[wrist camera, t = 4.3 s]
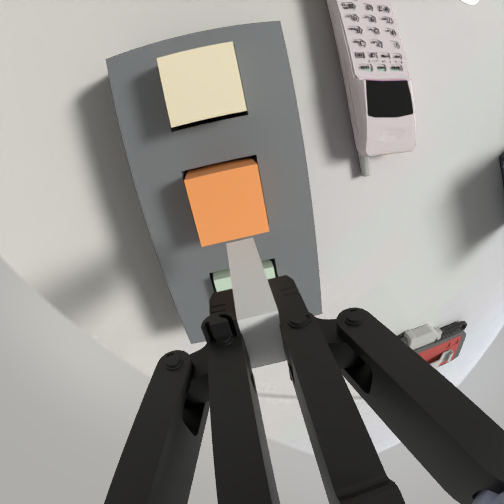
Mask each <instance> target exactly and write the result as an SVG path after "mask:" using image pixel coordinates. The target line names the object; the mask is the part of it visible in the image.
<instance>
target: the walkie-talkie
mask: <svg viewBox="0 0 504 504" xmlns="http://www.w3.org/2000/svg"><path fill="white" fill-rule="evenodd" d="M460 326H461V327H460ZM466 326H467V323H466V322H465V321H461V322H459V323H452V324H450V325H447V326H445V327H442V328H440V329H439V327H437V328H434V327H432V326H430V325H427V324H426V325H424V326H421V327H418V328H415V329H412V330H407V331H405V333H404V337H403V338H400V339H401V340H402V341H403V342H404V343H406V344H407V345H408V346H409V347H410V348H411V349H413V350H414V351H415V352H416V353H417V354H418V355H420V356H421V357H422V358H423V359H424V360H425V361H427V362H428V363H429V364H430V365H431V366H432V367H433V368H435V369H436V370H437V368H438V367H439V366H441V365H444V364H446V363H449V362H450V361H452V360H453V359H455V358H456V357H458V355H459V353H460V350H461V348H462V345H463V342H464V340H465V337H466V333H465V332H464V331H463V330H464V329H465V328H466Z"/></svg>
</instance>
